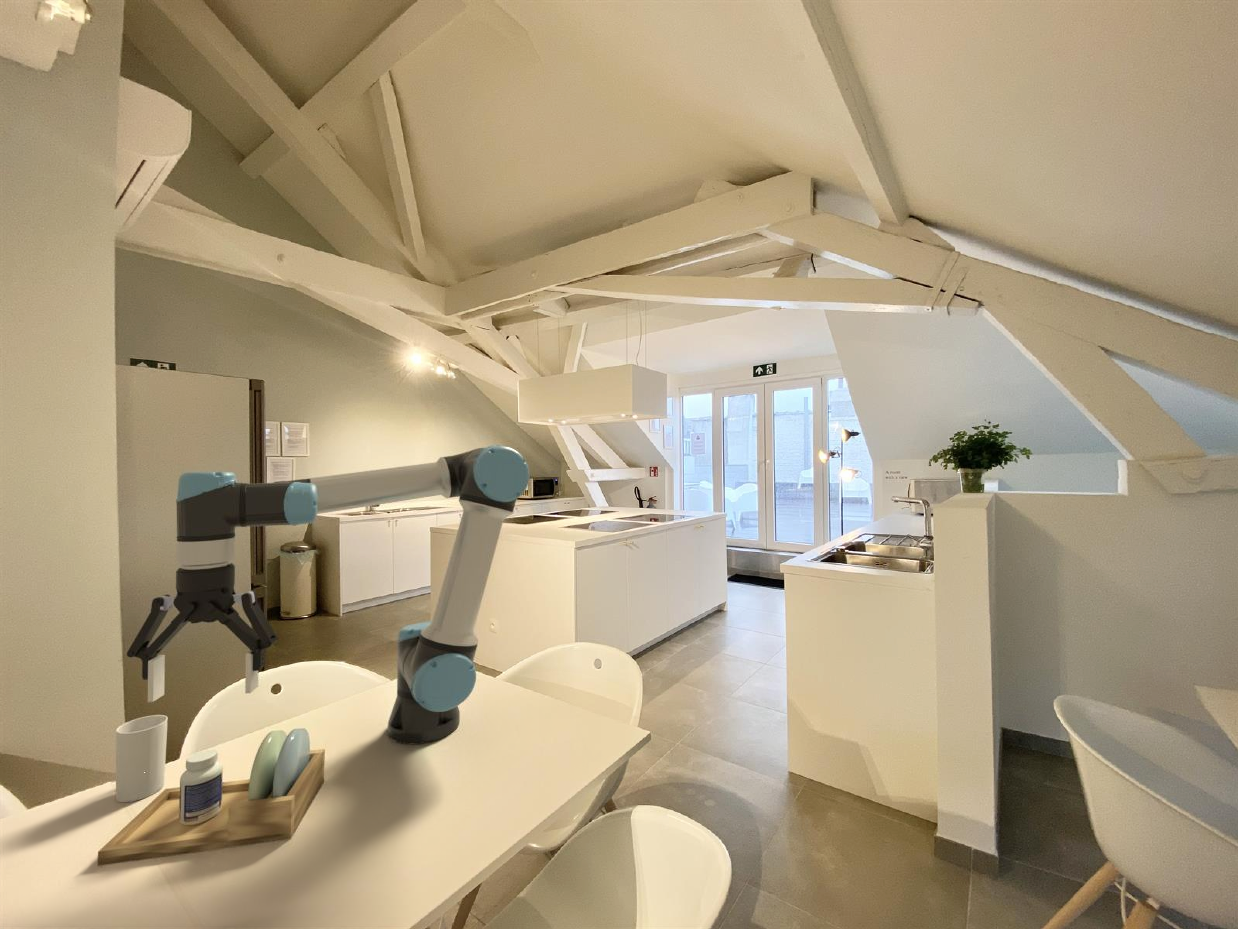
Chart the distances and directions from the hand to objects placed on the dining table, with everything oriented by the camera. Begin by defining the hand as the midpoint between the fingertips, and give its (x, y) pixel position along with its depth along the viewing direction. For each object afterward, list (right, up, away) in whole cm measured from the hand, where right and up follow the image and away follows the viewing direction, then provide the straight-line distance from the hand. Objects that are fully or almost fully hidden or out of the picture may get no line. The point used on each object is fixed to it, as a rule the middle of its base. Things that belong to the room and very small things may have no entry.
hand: (204, 694), depth 83 cm
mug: (-18, -21, +9) cm, 29 cm away
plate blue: (+13, -21, +2) cm, 24 cm away
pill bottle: (0, -20, -1) cm, 20 cm away
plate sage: (+9, -21, +2) cm, 23 cm away
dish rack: (+3, -21, 0) cm, 21 cm away
